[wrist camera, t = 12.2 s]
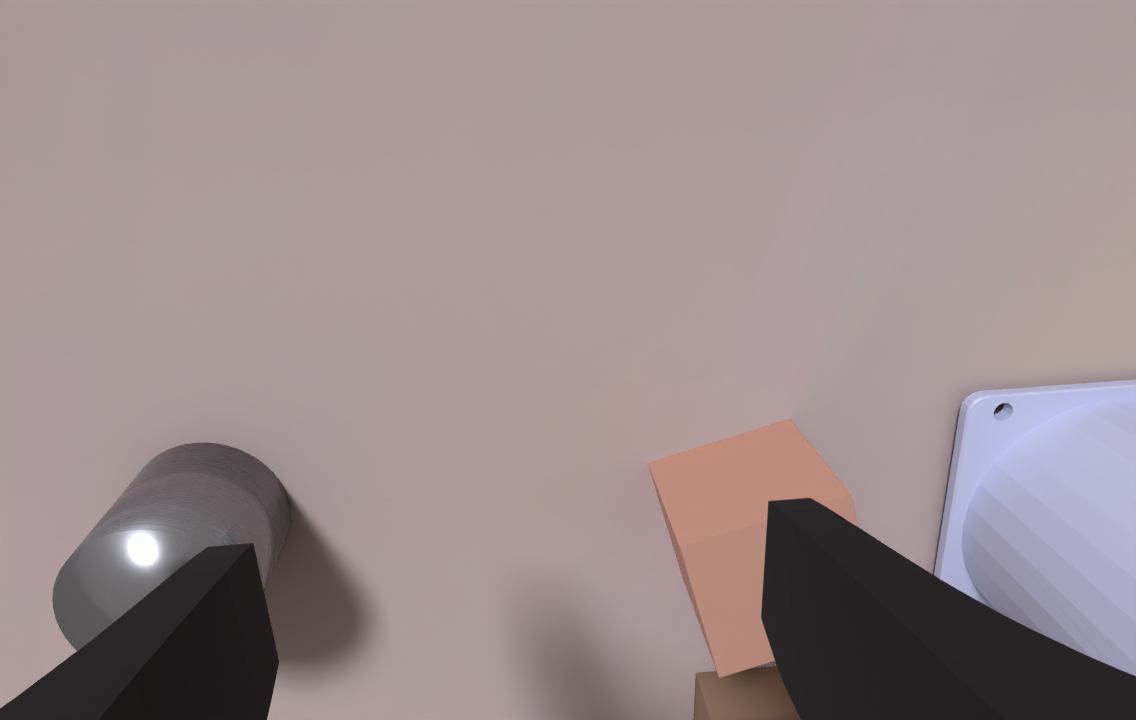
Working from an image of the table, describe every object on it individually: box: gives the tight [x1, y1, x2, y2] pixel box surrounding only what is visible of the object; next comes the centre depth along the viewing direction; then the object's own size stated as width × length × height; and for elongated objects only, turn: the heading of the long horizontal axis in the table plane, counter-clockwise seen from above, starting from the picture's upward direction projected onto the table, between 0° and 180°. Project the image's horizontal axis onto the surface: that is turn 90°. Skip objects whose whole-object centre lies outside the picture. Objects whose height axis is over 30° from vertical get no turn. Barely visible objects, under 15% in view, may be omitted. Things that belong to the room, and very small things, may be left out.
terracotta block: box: [648, 419, 857, 678], centre depth 20 cm, size 4×4×4 cm
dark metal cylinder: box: [53, 443, 291, 651], centre depth 19 cm, size 4×4×4 cm
